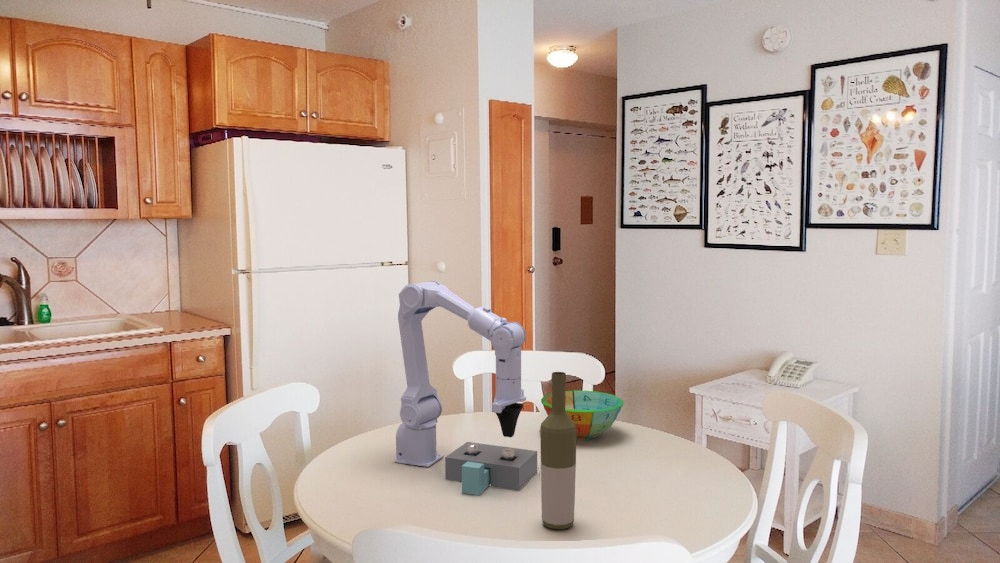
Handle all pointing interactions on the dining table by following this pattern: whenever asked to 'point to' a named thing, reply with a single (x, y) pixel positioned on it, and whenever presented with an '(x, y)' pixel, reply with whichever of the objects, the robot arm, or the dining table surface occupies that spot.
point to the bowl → (588, 411)
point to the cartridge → (475, 478)
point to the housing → (495, 465)
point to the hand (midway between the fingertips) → (508, 436)
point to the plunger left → (472, 449)
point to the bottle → (558, 460)
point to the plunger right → (508, 454)
